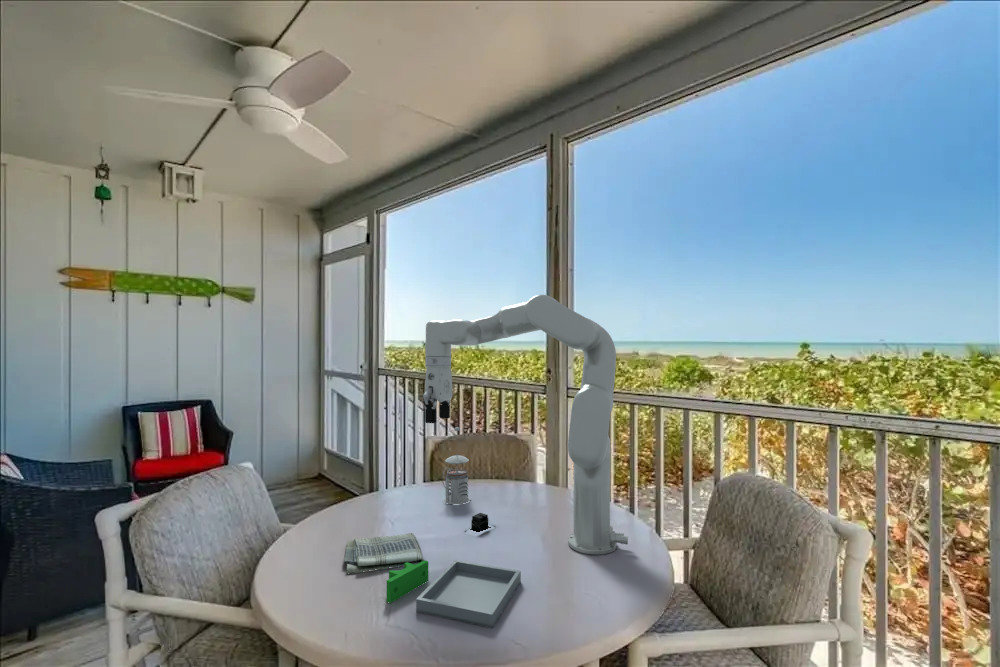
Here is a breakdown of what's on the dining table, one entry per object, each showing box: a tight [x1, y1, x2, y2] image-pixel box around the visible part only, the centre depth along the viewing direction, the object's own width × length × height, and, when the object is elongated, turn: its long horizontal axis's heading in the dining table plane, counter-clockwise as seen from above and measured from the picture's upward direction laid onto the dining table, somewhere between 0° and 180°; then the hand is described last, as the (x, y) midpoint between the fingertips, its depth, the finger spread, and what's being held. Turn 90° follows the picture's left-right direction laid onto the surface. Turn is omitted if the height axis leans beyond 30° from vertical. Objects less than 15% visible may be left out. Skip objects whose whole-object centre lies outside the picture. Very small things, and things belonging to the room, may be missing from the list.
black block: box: [469, 512, 491, 532], centre depth 133 cm, size 12×7×5 cm, turn 143°
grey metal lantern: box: [442, 426, 471, 504], centre depth 158 cm, size 10×12×25 cm
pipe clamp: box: [385, 559, 429, 604], centre depth 100 cm, size 11×4×5 cm, turn 145°
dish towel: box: [343, 532, 425, 575], centre depth 117 cm, size 19×18×3 cm
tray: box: [415, 559, 522, 629], centre depth 97 cm, size 16×18×2 cm
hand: (437, 420), depth 137 cm, fingers open, 9 cm apart
